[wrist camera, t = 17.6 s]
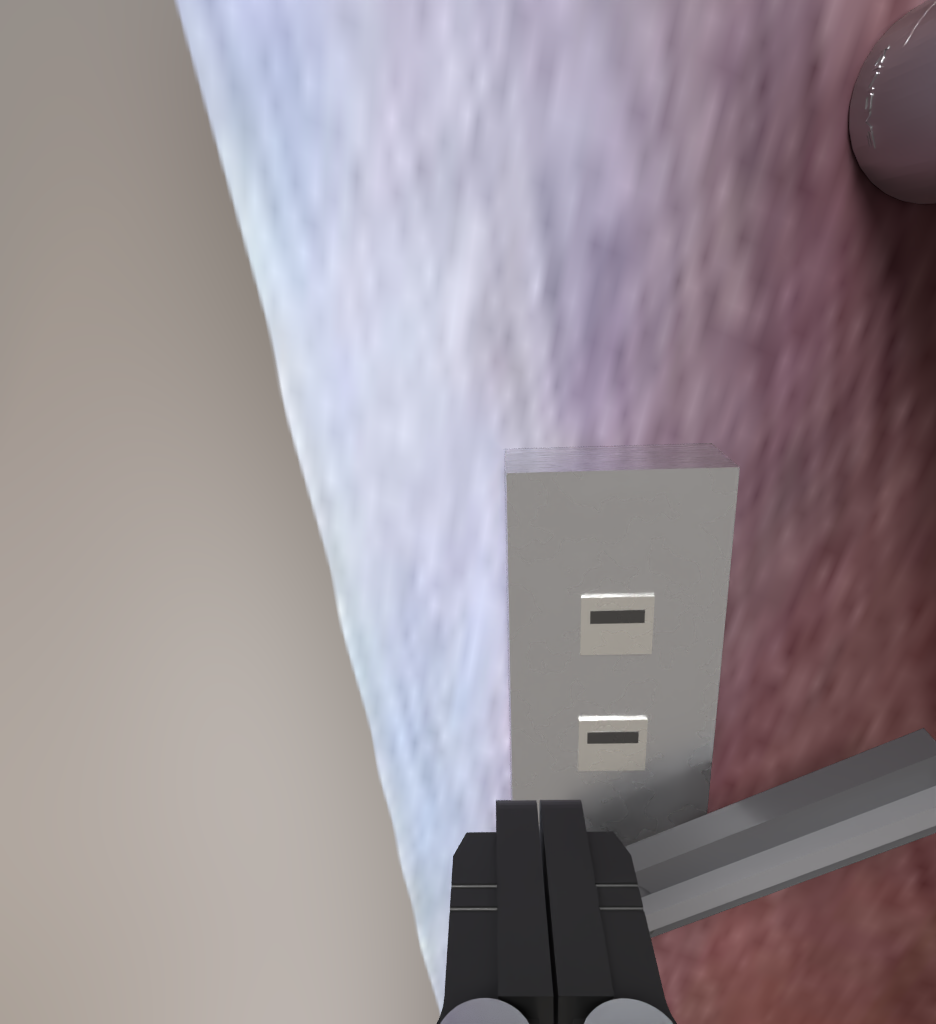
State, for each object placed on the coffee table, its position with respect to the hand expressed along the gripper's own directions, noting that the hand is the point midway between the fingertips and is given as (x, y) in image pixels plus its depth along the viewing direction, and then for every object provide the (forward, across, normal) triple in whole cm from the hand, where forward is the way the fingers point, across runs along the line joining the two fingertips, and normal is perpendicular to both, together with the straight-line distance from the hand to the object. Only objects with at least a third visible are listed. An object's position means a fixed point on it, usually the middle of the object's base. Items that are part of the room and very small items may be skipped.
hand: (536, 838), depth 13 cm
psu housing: (+31, -6, +15) cm, 35 cm away
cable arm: (+24, -14, +23) cm, 36 cm away
